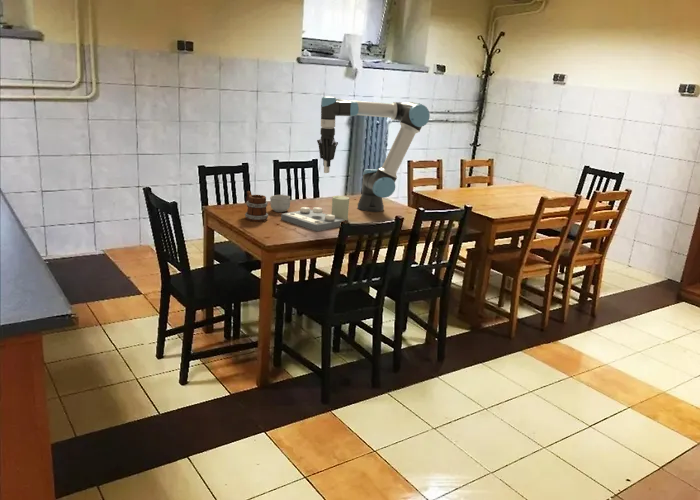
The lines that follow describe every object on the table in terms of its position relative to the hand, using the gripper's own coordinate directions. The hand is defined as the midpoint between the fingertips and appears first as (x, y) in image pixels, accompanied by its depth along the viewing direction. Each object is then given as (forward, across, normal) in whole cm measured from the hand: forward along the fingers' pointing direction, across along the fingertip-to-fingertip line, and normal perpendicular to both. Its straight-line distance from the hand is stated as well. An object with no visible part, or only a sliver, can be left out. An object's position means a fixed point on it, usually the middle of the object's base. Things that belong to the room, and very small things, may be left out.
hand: (326, 172), depth 315 cm
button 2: (+20, +17, -15) cm, 30 cm away
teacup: (+23, -20, -14) cm, 33 cm away
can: (+24, +10, 0) cm, 26 cm away
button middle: (+18, +8, -15) cm, 24 cm away
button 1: (+19, -1, -14) cm, 24 cm away
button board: (+23, +8, -18) cm, 30 cm away
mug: (+22, -15, -37) cm, 46 cm away
